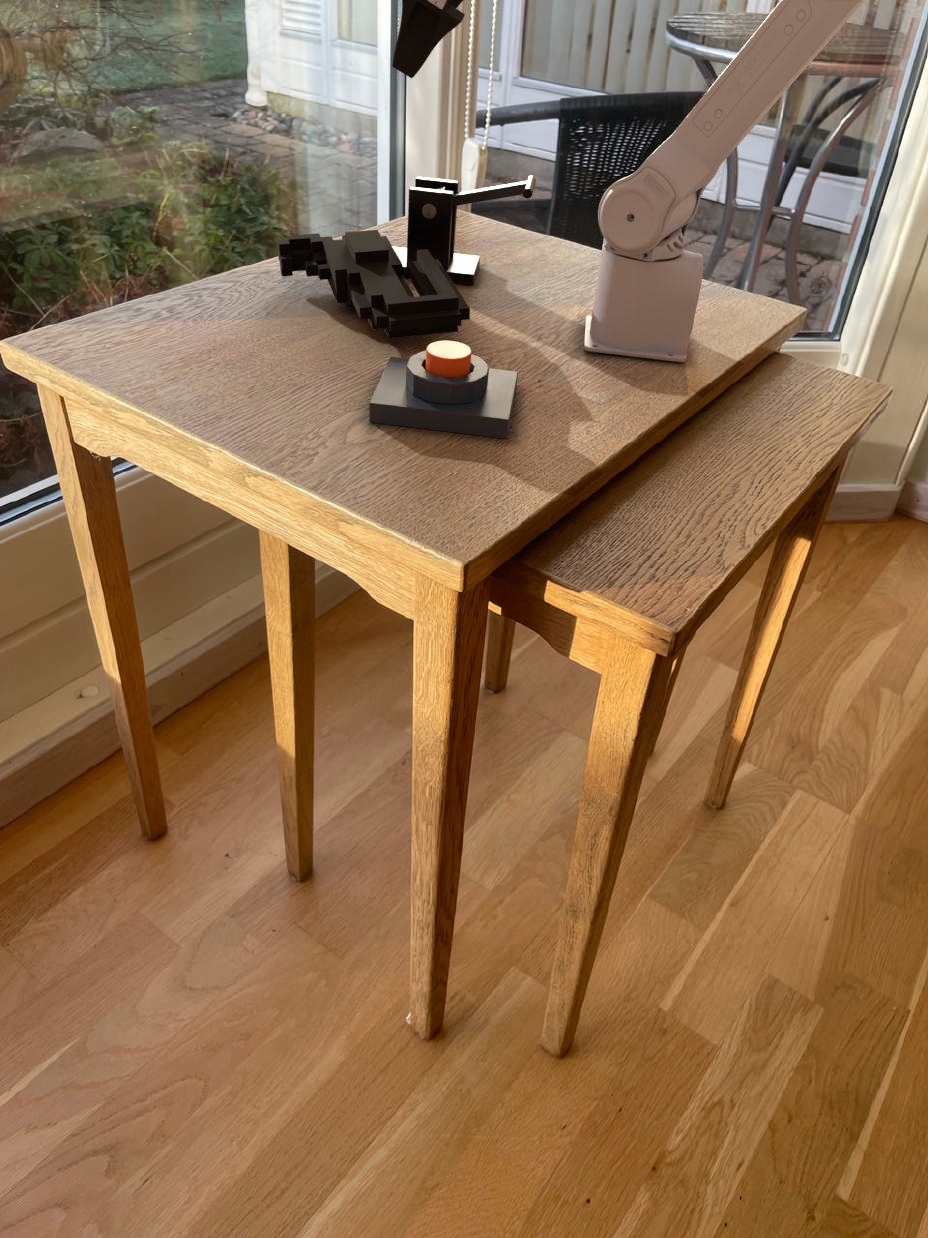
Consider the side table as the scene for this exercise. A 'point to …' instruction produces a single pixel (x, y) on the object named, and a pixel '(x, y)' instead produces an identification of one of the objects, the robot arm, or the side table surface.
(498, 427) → the button box
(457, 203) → the switch lever
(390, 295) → the tool
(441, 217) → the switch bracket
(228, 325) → the side table surface
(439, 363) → the button
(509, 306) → the side table surface
